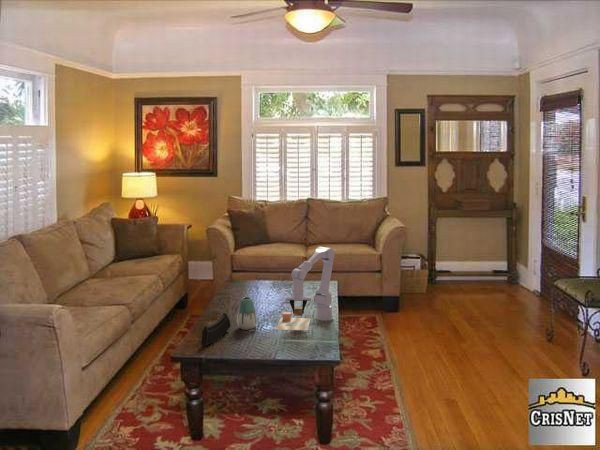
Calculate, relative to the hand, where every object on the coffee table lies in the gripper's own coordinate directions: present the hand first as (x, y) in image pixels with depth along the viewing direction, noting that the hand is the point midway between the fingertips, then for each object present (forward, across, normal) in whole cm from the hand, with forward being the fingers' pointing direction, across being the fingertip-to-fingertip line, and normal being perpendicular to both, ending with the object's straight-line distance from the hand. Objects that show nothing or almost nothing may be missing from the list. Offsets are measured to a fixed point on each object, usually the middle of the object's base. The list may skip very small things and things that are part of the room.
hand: (298, 313), depth 349 cm
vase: (+9, -29, -2) cm, 31 cm away
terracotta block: (+8, -8, +13) cm, 18 cm away
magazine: (+9, -43, -22) cm, 49 cm away
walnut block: (+1, 0, 0) cm, 1 cm away
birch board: (+9, -3, +5) cm, 11 cm away
